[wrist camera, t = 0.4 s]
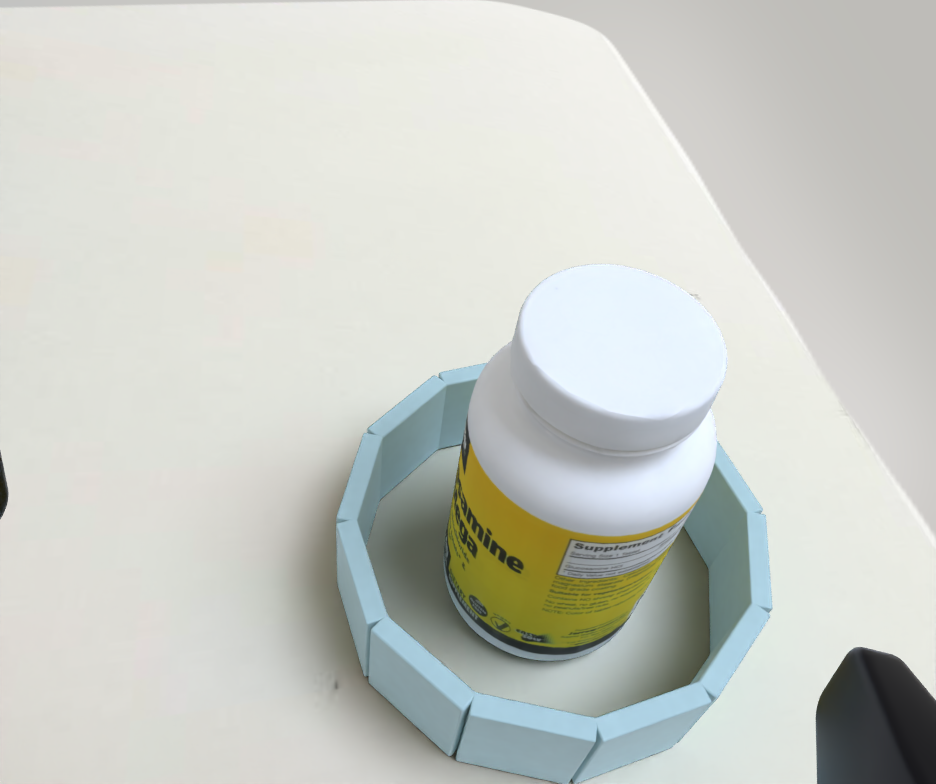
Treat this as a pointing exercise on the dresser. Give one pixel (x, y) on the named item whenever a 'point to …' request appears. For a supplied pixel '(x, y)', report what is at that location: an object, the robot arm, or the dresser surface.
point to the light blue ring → (512, 722)
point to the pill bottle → (581, 459)
